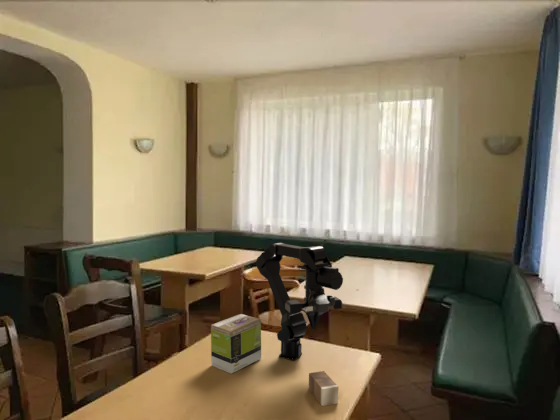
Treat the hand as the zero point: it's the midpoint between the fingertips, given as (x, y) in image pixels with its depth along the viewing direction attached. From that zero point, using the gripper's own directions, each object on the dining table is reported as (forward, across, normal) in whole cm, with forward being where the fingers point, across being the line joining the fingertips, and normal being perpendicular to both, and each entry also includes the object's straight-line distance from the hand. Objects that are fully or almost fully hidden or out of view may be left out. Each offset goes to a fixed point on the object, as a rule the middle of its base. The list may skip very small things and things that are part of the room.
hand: (313, 329), depth 145 cm
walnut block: (+11, -4, -13) cm, 18 cm away
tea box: (+13, -24, +11) cm, 29 cm away
